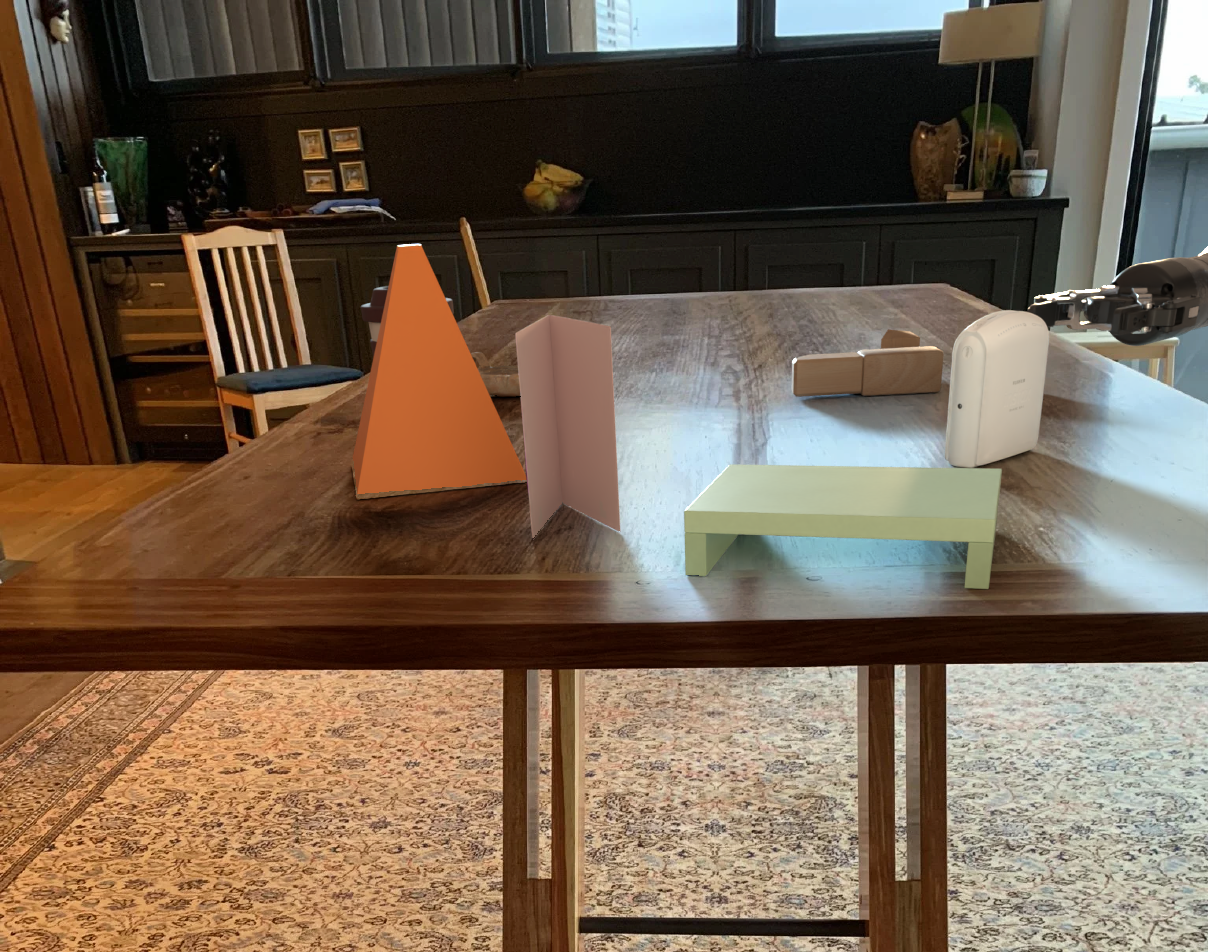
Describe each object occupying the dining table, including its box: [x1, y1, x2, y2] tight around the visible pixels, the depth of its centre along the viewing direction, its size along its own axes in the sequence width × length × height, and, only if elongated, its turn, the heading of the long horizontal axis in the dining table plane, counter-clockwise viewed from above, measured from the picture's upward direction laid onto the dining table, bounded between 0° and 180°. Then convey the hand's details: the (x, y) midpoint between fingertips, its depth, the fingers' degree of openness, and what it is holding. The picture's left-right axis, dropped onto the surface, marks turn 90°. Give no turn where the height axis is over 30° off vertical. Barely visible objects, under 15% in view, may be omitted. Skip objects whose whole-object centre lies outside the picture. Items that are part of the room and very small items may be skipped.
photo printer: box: [944, 309, 1050, 468], centre depth 106 cm, size 10×4×12 cm, turn 130°
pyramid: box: [352, 243, 527, 494], centre depth 110 cm, size 16×16×20 cm
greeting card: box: [514, 314, 621, 539], centre depth 93 cm, size 11×7×15 cm, turn 170°
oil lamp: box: [470, 351, 520, 397], centre depth 153 cm, size 13×8×5 cm, turn 43°
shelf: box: [683, 464, 1003, 590], centre depth 84 cm, size 20×14×4 cm
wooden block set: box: [791, 329, 945, 398], centre depth 145 cm, size 17×6×18 cm
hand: (1072, 319), depth 110 cm, fingers open, 8 cm apart
